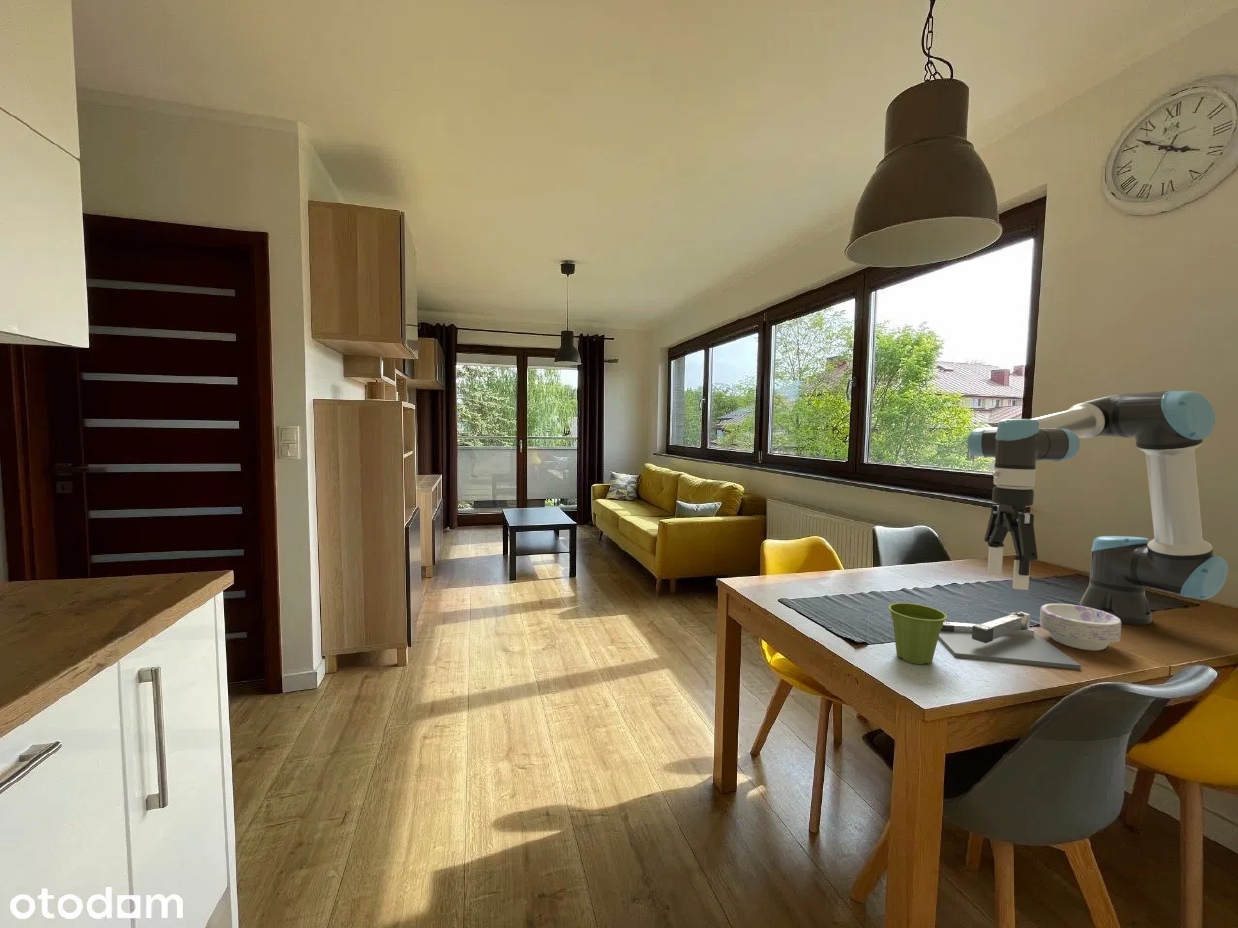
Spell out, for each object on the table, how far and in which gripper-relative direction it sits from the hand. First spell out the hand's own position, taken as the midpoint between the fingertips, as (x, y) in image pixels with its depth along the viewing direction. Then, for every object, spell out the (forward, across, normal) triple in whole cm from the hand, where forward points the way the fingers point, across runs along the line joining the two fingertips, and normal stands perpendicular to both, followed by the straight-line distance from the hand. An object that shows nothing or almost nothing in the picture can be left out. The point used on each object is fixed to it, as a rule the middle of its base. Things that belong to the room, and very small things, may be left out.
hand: (1006, 581), depth 121 cm
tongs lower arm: (+17, -14, +2) cm, 23 cm away
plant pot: (+19, +5, -20) cm, 28 cm away
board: (+18, -8, +2) cm, 20 cm away
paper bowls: (+18, -15, +23) cm, 33 cm away
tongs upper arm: (+15, -10, +4) cm, 19 cm away
